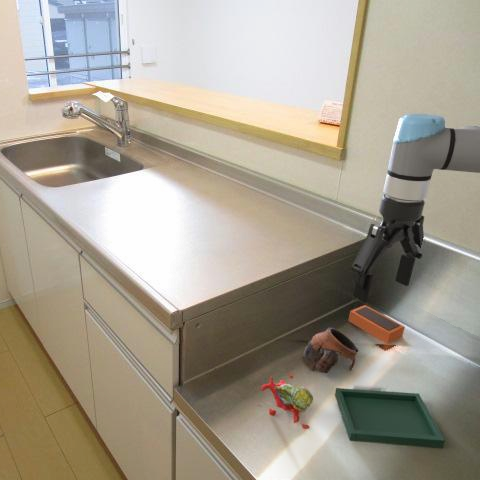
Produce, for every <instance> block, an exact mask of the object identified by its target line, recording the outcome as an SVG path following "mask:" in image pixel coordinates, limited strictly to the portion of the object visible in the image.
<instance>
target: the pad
mask: <svg viewBox="0 0 480 480" xmlns="http://www.w3.org/2000/svg"><path fill="white" fill-rule="evenodd" d="M348 322H349V323H350V324H353V325H354V326H356V327H357V328H359V329H362V330H363V331H364V332H366V333H368V334H369V335H370V336H372V337H374V338H375V339H377V340H379V341H381V342H383V343H374V345H375V346H377V347H378V346H379V347H378V348H380V349H382V350H383V349H384V351H385V352H387V351H389V350H391V349H393V348H395V347H396V345H397V344H392V343H393V342H396V341H397V340H399V339H401V338H403V336H404V332H405V329H406V328H405V326H404V325H402V324H401V323H399V322H398V321H396V320H393V319H391V318H390V317H388V316H386V315H384V314H383V313H381V312H379V311H377V310H375V309H373V308H372V307H370V306H368V305H366V304H364V305H362V306H361V305H360V306H358V307H357V308H353V309H351V310H350V311H349V317H348ZM394 346H395V347H394ZM392 347H393V348H392ZM390 348H391V349H390ZM388 349H389V350H388ZM386 350H387V351H386Z"/></svg>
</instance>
